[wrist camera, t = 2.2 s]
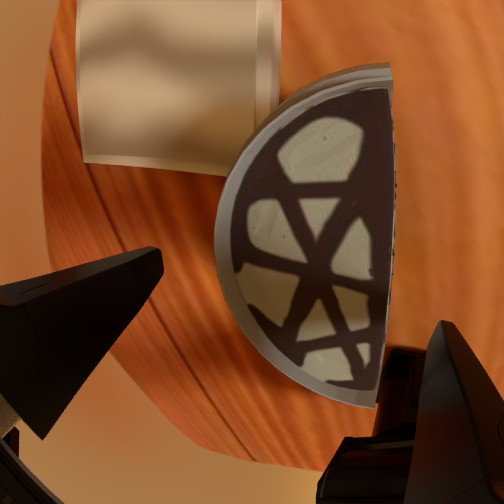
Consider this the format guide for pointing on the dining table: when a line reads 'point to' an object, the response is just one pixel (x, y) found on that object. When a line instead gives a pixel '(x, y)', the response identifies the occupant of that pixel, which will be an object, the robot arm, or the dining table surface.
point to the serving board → (175, 80)
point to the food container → (315, 233)
